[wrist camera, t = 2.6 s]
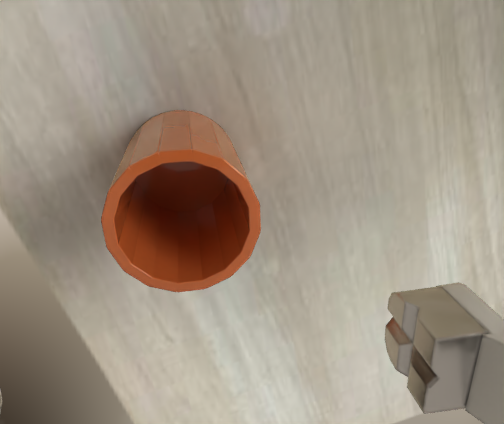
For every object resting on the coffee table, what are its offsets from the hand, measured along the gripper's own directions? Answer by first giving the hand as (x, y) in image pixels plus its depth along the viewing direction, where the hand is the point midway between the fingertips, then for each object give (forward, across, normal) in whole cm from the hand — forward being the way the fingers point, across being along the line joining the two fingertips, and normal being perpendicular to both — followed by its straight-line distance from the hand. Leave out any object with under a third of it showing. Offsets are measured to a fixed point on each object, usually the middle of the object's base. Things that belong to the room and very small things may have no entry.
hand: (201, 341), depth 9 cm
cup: (+13, 0, 0) cm, 13 cm away
